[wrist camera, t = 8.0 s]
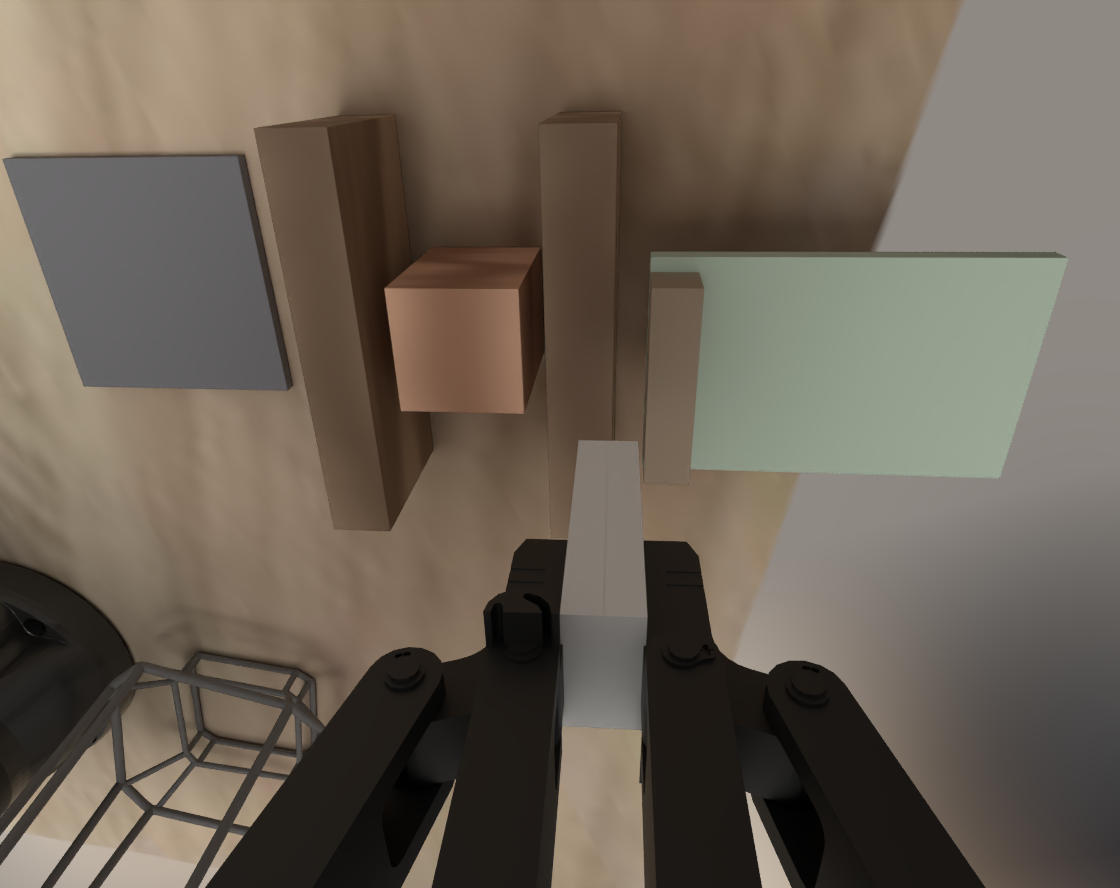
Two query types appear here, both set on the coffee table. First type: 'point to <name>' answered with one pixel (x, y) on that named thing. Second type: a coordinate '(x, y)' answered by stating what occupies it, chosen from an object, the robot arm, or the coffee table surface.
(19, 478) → the coffee table surface
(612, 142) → the brown parallel walls
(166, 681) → the geometric lantern
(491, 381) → the block
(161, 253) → the mat
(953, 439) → the cover
